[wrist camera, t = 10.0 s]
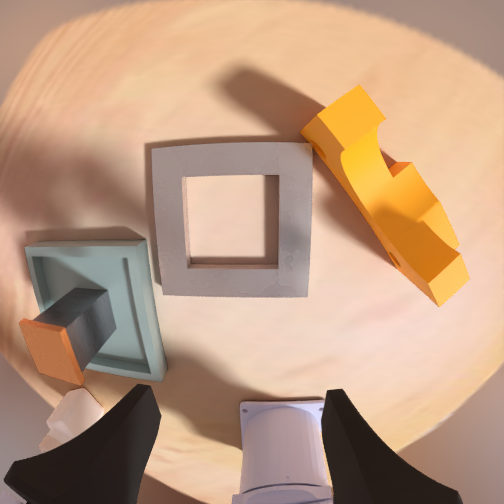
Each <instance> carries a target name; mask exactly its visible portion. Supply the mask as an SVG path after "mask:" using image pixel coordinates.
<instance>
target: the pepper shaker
mask: <svg viewBox="0 0 504 504" xmlns="http://www.w3.org/2000/svg"><path fill="white" fill-rule="evenodd" d="M103 414H104V409H103V407H102V406H101V405H100V404H99V403H98V402H97V401H96V400H95V399H94V397H93V396H92V395H91V394H90V393H89V392H88V391H87V390H86V389H85V388H81V389H76V390H72V391H69V392H67V394H66V395H65V396H64V398H63V399H62V400H61V402H60V403H59V404H58V406H57V407H56V409H55V410H54V411H53V413H52V414H51V415H50V417H49V418H48V420H47V425H48V427H49V428H50V431H49V433H48V434H46V436H45V437H44V439H43V440H42V442H41V443H40V445H39V449H40V451H41V452H42V453H45V452H47V451H50V450H52V449H54V448H56V447H58V446H60V445H62V444H64V443H66V442H68V441H70V440H71V439H73V438H75V437H76V436H78V435H79V434H81V433H82V432H84V431H85V430H87V429H88V428H89V427H91V426H92V425H93V424H94V423H95V422H97V421H98V420H99V419H100V418H101V417H102V415H103Z"/></svg>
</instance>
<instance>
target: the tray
mask: <svg viewBox="0 0 504 504" xmlns="http://www.w3.org/2000/svg"><path fill="white" fill-rule="evenodd" d="M24 248H25V253H26V258H27V263H28V268H29V272H30V276H31V280H32V284H33V288H34V292H35V296H36V299H37V303H38V306H39V309H40V313H42V312H44V311H45V310H46V309H47V308H49V307H50V306H51V305H53V304H54V303H55V302H56V301H58V300H59V299H60V298H62V297H63V296H64V295H66V294H67V293H68V292H70V291H71V290H72V289H74V288H87V289H100V290H108V292H109V297H110V302H111V306H112V311H113V315H114V319H115V323H116V327H117V329H116V330H115V331H114V333H113V334H112V335H111V336H110V338H109V339H108V340H107V341H106V342H105V344H104V345H103V346H102V347H101V349H100V350H99V351H98V352H97V354H96V355H95V356H94V357H93V359H92V360H91V361H90V363H89V364H88V365H87V366H86V368H87V369H91V370H95V371H100V372H105V373H110V374H115V375H120V376H125V377H131V378H137V379H143V380H150V381H157V382H162V381H163V379H164V377H165V374H166V372H167V370H168V367H167V363H166V358H165V354H164V349H163V344H162V339H161V334H160V329H159V324H158V318H157V312H156V306H155V300H154V294H153V287H152V280H151V273H150V265H149V257H148V249H147V239H126V240H76V241H39V242H35V243H33V244H30V245H28V246H26V247H24Z"/></svg>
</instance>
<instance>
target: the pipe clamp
mask: <svg viewBox="0 0 504 504" xmlns="http://www.w3.org/2000/svg"><path fill="white" fill-rule="evenodd" d="M385 119H386V118H385V117H384V115H383V114H382V113H381V111H380V110H379V109H378V107H377V106H376V105H375V103H374V102H373V101H372V100H371V98H370V97H369V96H368V94H367V93H366V92H365V91H364V90H363V88H362V87H361V86H360V85H358V86H356V87H355V88H353V89H352V90H351V91H349V92H348V93H346V94H345V95H343V96H342V97H341V98H339V99H338V100H336V101H335V102H334V103H332V104H331V105H329V106H328V107H327V108H325V109H324V110H322V111H321V112H320V113H318V114H317V115H316V116H315V117H314V118H313V119H312V120H311V121H310V122H309V123H308V124H307V125H306V126H305V127H304V128H303V129H302V130H301V131H300V133H301V134H302V135H303V137H304V138H305V139H306V140H307V141H308V143H312V148H313V149H314V150H315V151H316V152H317V154H318V155H319V156H320V158H321V159H322V160H323V161H324V163H325V164H326V165H327V166H328V168H329V169H330V170H331V172H332V173H333V174H334V176H335V177H336V178H337V180H338V181H339V182H340V184H341V185H342V186H343V188H344V189H345V190H346V192H347V193H348V195H349V196H350V197H351V199H352V200H353V202H354V203H355V205H356V206H357V207H358V209H359V210H360V212H361V213H362V215H363V216H364V218H365V219H366V221H367V222H368V224H369V225H370V227H371V228H372V230H373V231H374V233H375V234H376V236H377V237H378V239H379V240H380V242H381V244H382V245H383V247H384V248H385V250H386V252H387V253H388V255H389V256H390V258H391V260H392V261H393V263H394V265H395V266H396V268H397V269H398V270H399V271H400V272H401V273H402V274H403V275H404V276H406V277H407V278H408V279H409V280H410V281H411V282H412V283H413V284H415V285H416V286H417V287H418V288H419V289H420V290H421V291H422V292H423V293H424V294H425V295H427V296H428V297H429V298H430V299H431V300H432V301H433V302H434V303H435V304H436V305H437V306H438V307H440V306H441V305H443V304H444V303H445V302H446V301H447V300H448V299H449V298H450V297H451V296H453V295H454V294H455V293H456V292H457V291H458V290H459V289H460V288H461V287H462V286H463V285H464V284H465V283H466V282H467V281H468V280H469V279H470V277H469V275H468V272H467V269H466V266H465V264H464V261H463V258H462V256H461V254H460V253H459V252H457V251H455V249H456V248H457V247H458V246H459V242H458V240H457V237H456V235H455V233H454V231H453V228H452V226H451V224H450V222H449V220H448V217H447V215H446V213H445V211H444V209H443V207H442V205H441V203H440V201H439V200H438V199H437V198H436V197H435V195H434V194H433V193H432V192H431V190H430V189H429V188H428V186H427V185H426V184H425V182H424V181H423V179H422V178H421V176H420V175H419V173H418V172H417V170H416V168H415V167H414V165H413V163H412V162H396V163H395V164H394V165H393V166H391V167H390V168H389V169H388V168H387V166H386V164H385V161H384V159H383V157H382V154H381V152H380V149H379V145H378V140H377V129H378V126H379V124H380V123H381V122H382V121H384V120H385Z"/></svg>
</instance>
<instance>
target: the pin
mask: <svg viewBox="0 0 504 504" xmlns="http://www.w3.org/2000/svg"><path fill="white" fill-rule="evenodd" d="M19 325H20V328H21V330H22V333H23V336H24V338H25V341H26V343H27V346H28V348H29V351H30V353H31V355H32V358H33V360H34V362H35V364H36V366H37V369H38V371H39V373H42V374H45V375H48V376H51V377H54V378H57V379H60V380H63V381H66V382H70V383H73V384H76V385H80V386H81V385H82V384H83V382H84V381H85V379H84V377H83V374H82V372H83V370H84V369H85V368H86V366H87V365H88V364H89V363H90V361H91V360H92V359H93V357H94V356H95V355H96V354H97V352H98V351H99V350H100V349H101V347H102V346H103V345H104V344H105V342H106V341H107V340H108V339H109V338H110V336H111V335H112V334H113V333H114V331H115V330H116V329H117V327H116V323H115V319H114V315H113V311H112V306H111V302H110V297H109V292H108V290H100V289H87V288H74V289H72V290H71V291H70V292H68V293H67V294H66V295H64V296H63V297H62V298H60V299H59V300H58V301H56V302H55V303H54V304H53V305H51V306H50V307H49V308H47V309H46V310H45V311H44V312H42V313H41V314H40V315H39V316H37V317H36V318H35V319H34V320H28V319H23V320H21V321H20V322H19Z"/></svg>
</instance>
